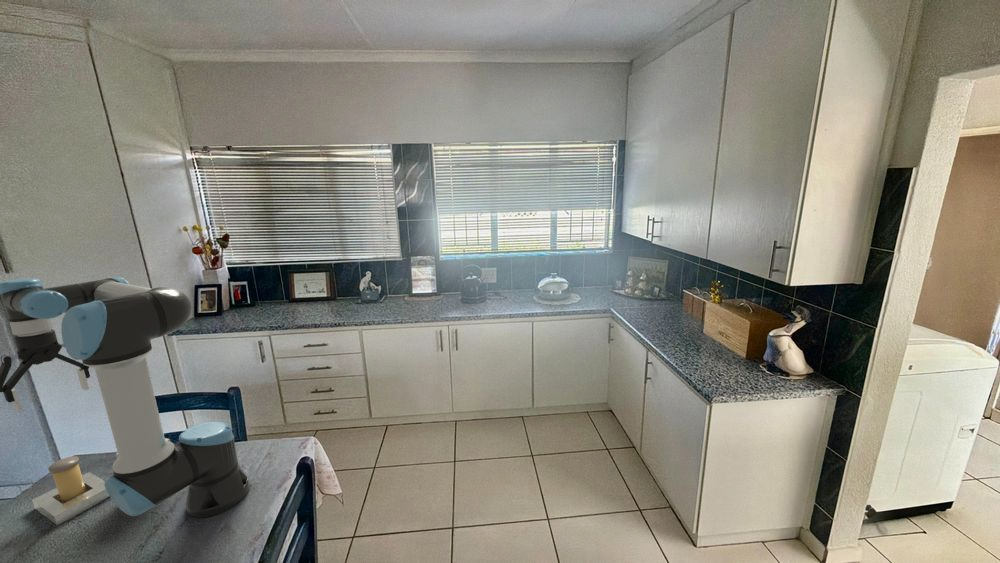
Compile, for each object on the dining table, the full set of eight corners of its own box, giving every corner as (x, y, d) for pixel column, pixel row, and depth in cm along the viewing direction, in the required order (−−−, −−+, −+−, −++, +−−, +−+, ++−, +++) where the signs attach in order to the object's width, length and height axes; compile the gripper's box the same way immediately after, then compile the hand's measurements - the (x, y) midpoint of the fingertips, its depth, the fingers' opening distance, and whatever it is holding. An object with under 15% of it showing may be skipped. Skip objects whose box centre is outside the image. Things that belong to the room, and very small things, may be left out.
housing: (114, 494, 114) (112, 485, 114) (57, 525, 104) (54, 516, 103) (91, 480, 120) (89, 472, 119) (34, 508, 109) (31, 499, 108)
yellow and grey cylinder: (94, 497, 113) (82, 459, 110) (66, 511, 108) (53, 472, 105) (84, 491, 115) (73, 454, 112) (56, 505, 110) (44, 466, 107)
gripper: (87, 317, 122) (103, 378, 127) (-43, 345, 100) (-18, 417, 105) (99, 320, 119) (114, 383, 124) (-34, 350, 97) (-8, 424, 101)
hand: (54, 399), depth 114 cm, fingers open, 13 cm apart
